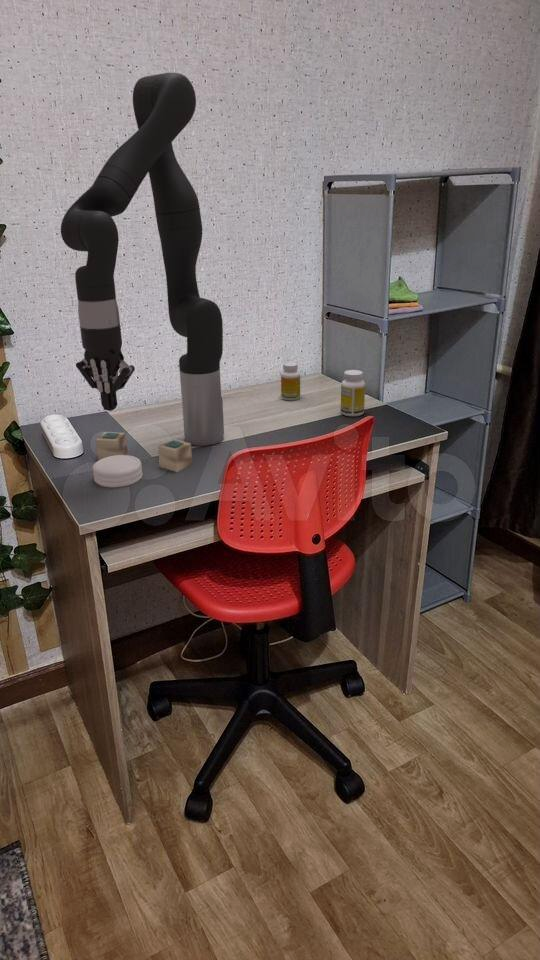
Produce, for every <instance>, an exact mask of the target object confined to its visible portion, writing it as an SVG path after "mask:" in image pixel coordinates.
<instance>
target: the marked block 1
mask: <svg viewBox="0 0 540 960" xmlns="http://www.w3.org/2000/svg"><path fill="white" fill-rule="evenodd" d="M126 435H127V434H126V432H114V431H113V432H112V431H104V432H102V434H101V435H99V436H98V437H97V438H96V439H95V444H96V453H97V458H98V460H97V461H99V460H101V459H103V458H106V457H109V456H115V455H127V454H128V453H129V451H128V445H127V437H126Z"/></svg>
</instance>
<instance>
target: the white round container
mask: <svg viewBox="0 0 540 960" xmlns="http://www.w3.org/2000/svg"><path fill="white" fill-rule="evenodd" d="M92 471H93V480H94V482H95V483H96V484H97V485H98V486H101V487H105V488H123V487H127V486H131V485H133V484H136V483H137V482H138V481H140V480H141V479H142V477H143V467H142V461H141V460H140V459H139V458H137V457H136V456H134V455H129V454H128V455H127V454H126V455H115V456H109V457H106V458H103V459H101V460H97V461H96V462H94V464H93V466H92Z"/></svg>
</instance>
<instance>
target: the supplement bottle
mask: <svg viewBox="0 0 540 960" xmlns="http://www.w3.org/2000/svg"><path fill="white" fill-rule="evenodd" d="M282 366H283V367H282V368H283V371H281V373H280V396H281V399H282V400H284V401H297V400H299V399H300V398H301V372H300V371H299V370H298V369H299V366H298V363H297V362H292V361H291V362H290V361H288V362H283V365H282Z"/></svg>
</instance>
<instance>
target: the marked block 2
mask: <svg viewBox="0 0 540 960" xmlns="http://www.w3.org/2000/svg"><path fill="white" fill-rule="evenodd" d="M157 449H158V450H157V453H158V461H159V462H158V463H159V468H161V469H164V468H165V470H168V471H172V472H176V473H179V472H180V471H183V470H184V469H186V468H188V467H190V466H191V465H193V457H192V456H193V455H192V445H191V443H187V442H186V441H183V440H180V439H175V438H173V439H171V440H168V441H166V442H164V443H162V444H160V445H158V446H157Z"/></svg>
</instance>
